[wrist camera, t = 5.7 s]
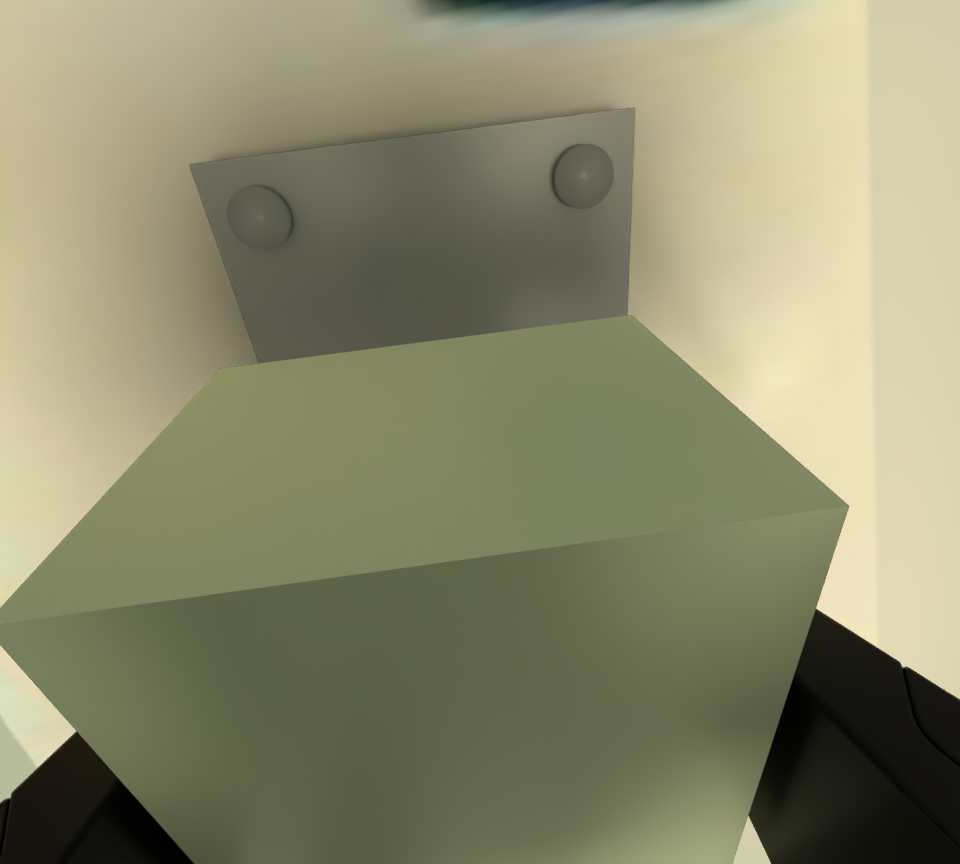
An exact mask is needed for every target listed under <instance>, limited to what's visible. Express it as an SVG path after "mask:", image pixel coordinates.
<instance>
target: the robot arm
mask: <svg viewBox="0 0 960 864" xmlns="http://www.w3.org/2000/svg"><path fill="white" fill-rule="evenodd" d="M749 818H750V820H751V822H752V824H753V826H754V828H755V830H756V832H757V834H758V836H759V839H760V841H761V843H762V845H763V847H764V849H765V851H766V853H767V855H768V858H769V860H770V862H771V864H960V699H958V698H957V697H955V696H953V695H952V694H950V693H948V692H946V691H945V690H943V689H942V688H940V687H939V686H937V685H936V684H934V683H932V682H931V681H929V680H928V679H926V678H925V677H923V676H921V675H920V674H918V673H917V672H915V671H913V670H912V669H910V668H908V667H903V668H902V665H901V663H900V662H899V661H897V660H896V659H894V658H893V657H891V656H890V655H888V654H886V653H885V652H883V651H882V650H880V649H879V648H877V647H876V646H874V645H872V644H871V643H869V642H868V641H866V640H865V639H863V638H861V637H860V636H858V635H857V634H855V633H854V632H852V631H850V630H849V629H847V628H846V627H844V626H843V625H841V624H839V623H838V622H836V621H835V620H833V619H832V618H830V617H828V616H827V615H825V614H824V613H822V612H821V611H819V610H817V609H815V612H814V616H813V619H812V622H811V625H810V628H809V631H808V634H807V637H806V640H805V643H804V646H803V649H802V652H801V655H800V658H799V661H798V665H797V668H796V671H795V674H794V677H793V680H792V683H791V686H790V689H789V692H788V695H787V698H786V701H785V704H784V707H783V710H782V714H781V717H780V720H779V723H778V726H777V729H776V732H775V735H774V738H773V741H772V744H771V747H770V750H769V753H768V756H767V759H766V763H765V766H764V769H763V772H762V775H761V778H760V781H759V784H758V787H757V790H756V793H755V796H754V799H753V802H752V805H751V808H750V812H749ZM0 864H194V863H193V862H192V861H191V859H190V858H189V857H188V856H187V855H186V854H185V853H184V852H183V850H182V849H181V848H180V847H179V846H178V845H177V844H176V843H175V841H174V840H173V839H172V838H171V837H170V836H169V835H168V833H167V832H166V831H165V830H164V829H163V828H162V827H161V826H160V824H159V823H158V822H157V821H156V820H155V819H154V818H153V817H152V815H151V814H150V813H149V812H148V811H147V810H146V809H145V808H144V806H143V805H142V804H141V803H140V802H139V801H138V800H137V799H136V797H135V796H134V795H133V794H132V793H131V792H130V791H129V790H128V788H127V787H126V786H125V785H124V784H123V783H122V782H121V781H120V779H119V778H118V777H117V776H116V775H115V774H114V773H113V771H112V770H111V769H110V768H109V767H108V766H107V765H106V764H105V762H104V761H103V760H102V759H101V758H100V757H99V756H98V755H97V753H96V752H95V751H94V750H93V749H92V748H91V747H90V746H89V744H88V743H87V742H86V741H85V740H84V739H83V738H82V737H81V735H80V734H79V733H78V732H77V731H76V732H75V733H74V734H73V735H72V736H71V737H70V738H69V739H68V740H67V741H66V742H65V743H63V744H62V745H61V746H60V747H59V748H58V749H57V750H56V751H55V752H54V753H53V754H52V755H51V756H50V757H49V758H48V759H47V760H46V761H44V762H43V763H42V764H41V765H40V766H39V767H38V768H37V769H36V770H35V771H34V772H33V773H32V774H31V775H30V776H29V777H28V778H27V779H26V780H25V781H24V782H22V783H21V784H20V785H19V786H18V787H17V788H16V789H15V790H14V791H13V792H12V794H11V797H10V798H7V799H5V800H3V801H2V802H1V803H0Z"/></svg>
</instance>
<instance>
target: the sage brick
mask: <svg viewBox="0 0 960 864" xmlns="http://www.w3.org/2000/svg"><path fill="white" fill-rule="evenodd" d="M848 508H849V505H848V504H846V503H845V502H844V501H843V500H842V499H841V498H840V497H838V496H837V495H836V494H835V493H834V492H833V491H832V490H830V489H829V488H828V487H827V486H826V485H825V484H824V483H822V482H821V481H820V480H819V479H818V478H817V477H816V476H814V475H813V474H812V473H811V472H810V471H809V470H808V469H807V468H805V467H804V466H803V465H802V464H801V463H800V462H799V461H797V460H796V459H795V458H794V457H793V456H792V455H791V454H789V453H788V452H787V451H786V450H785V449H784V448H783V447H781V446H780V445H779V444H778V443H777V442H776V441H775V440H773V439H772V438H771V437H770V436H769V435H768V434H767V433H765V432H764V431H763V430H762V429H761V428H760V427H759V426H757V425H756V424H755V423H754V422H753V421H752V420H751V419H749V418H748V417H747V416H746V415H745V414H744V413H743V412H742V411H740V410H739V409H738V408H737V407H736V406H735V405H734V404H732V403H731V402H730V401H729V400H728V399H727V398H726V397H724V396H723V395H722V394H721V393H720V392H719V391H718V390H716V389H715V388H714V387H713V386H712V385H711V384H710V383H708V382H707V381H706V380H705V379H704V378H703V377H702V376H700V375H699V374H698V373H697V372H696V371H695V370H694V369H692V368H691V367H690V366H689V365H688V364H687V363H686V362H684V361H683V360H682V359H681V358H680V357H679V356H678V355H676V354H675V353H674V352H673V351H672V350H671V349H670V348H669V347H667V346H666V345H665V344H664V343H663V342H662V341H661V340H659V339H658V338H657V337H656V336H655V335H654V334H653V333H651V332H650V331H649V330H648V329H647V328H646V327H645V326H643V325H642V324H641V323H640V322H639V321H638V320H637V319H635V318H634V317H633V316H632V315H627V316H619V317H611V318H604V319H596V320H588V321H581V322H573V323H565V324H558V325H550V326H542V327H535V328H527V329H519V330H512V331H504V332H496V333H489V334H481V335H473V336H466V337H458V338H450V339H443V340H435V341H427V342H420V343H412V344H404V345H397V346H389V347H381V348H374V349H366V350H358V351H351V352H343V353H336V354H328V355H320V356H313V357H305V358H297V359H290V360H282V361H274V362H267V363H259V364H251V365H244V366H236V367H228V368H221V369H219V371H218V372H217V373H216V374H215V375H214V376H213V377H212V378H211V379H210V380H209V381H208V382H207V384H206V385H205V386H204V387H203V388H202V389H201V390H200V391H199V392H198V393H197V394H196V396H195V397H194V398H193V399H192V400H191V401H190V402H189V403H188V404H187V405H186V406H185V408H184V409H183V410H182V411H181V412H180V413H179V414H178V415H177V416H176V417H175V418H174V419H173V421H172V422H171V423H170V424H169V425H168V426H167V427H166V428H165V429H164V430H163V431H162V433H161V434H160V435H159V436H158V437H157V438H156V439H155V440H154V441H153V442H152V443H151V445H150V446H149V447H148V448H147V449H146V450H145V451H144V452H143V453H142V454H141V455H140V456H139V458H138V459H137V460H136V461H135V462H134V463H133V464H132V465H131V466H130V467H129V468H128V470H127V471H126V472H125V473H124V474H123V475H122V476H121V477H120V478H119V479H118V480H117V482H116V483H115V484H114V485H113V486H112V487H111V488H110V489H109V490H108V491H107V492H106V493H105V495H104V496H103V497H102V498H101V499H100V500H99V501H98V502H97V503H96V504H95V505H94V507H93V508H92V509H91V510H90V511H89V512H88V513H87V514H86V515H85V516H84V517H83V519H82V520H81V521H80V522H79V523H78V524H77V525H76V526H75V527H74V528H73V529H72V530H71V532H70V533H69V534H68V535H67V536H66V537H65V538H64V539H63V540H62V541H61V542H60V544H59V545H58V546H57V547H56V548H55V549H54V550H53V551H52V552H51V553H50V554H49V556H48V557H47V558H46V559H45V560H44V561H43V562H42V563H41V564H40V565H39V566H38V567H37V569H36V570H35V571H34V572H33V573H32V574H31V575H30V576H29V577H28V578H27V579H26V581H25V582H24V583H23V584H22V585H21V586H20V587H19V588H18V589H17V590H16V591H15V593H14V594H13V595H12V596H11V597H10V598H9V599H8V600H7V601H6V602H5V603H4V604H3V606H2V607H1V608H0V645H1V646H2V648H3V649H4V650H5V651H6V652H7V653H8V654H9V655H10V657H11V658H12V659H13V660H14V661H15V662H16V663H17V664H18V666H19V667H20V668H21V669H22V670H23V671H24V672H25V673H26V675H27V676H28V677H29V678H30V679H31V680H32V681H33V682H34V684H35V685H36V686H37V687H38V688H39V689H40V690H41V691H42V693H43V694H44V695H45V696H46V697H47V698H48V699H49V700H50V702H51V703H52V704H53V705H54V706H55V707H56V708H57V710H58V711H59V712H60V713H61V714H62V715H63V716H64V717H65V719H66V720H67V721H68V722H69V723H70V724H71V725H72V726H73V728H74V729H75V730H76V731H77V732H78V733H79V734H80V735H81V737H82V738H83V739H84V740H85V741H86V742H87V743H88V744H89V746H90V747H91V748H92V749H93V750H94V751H95V752H96V753H97V755H98V756H99V757H100V758H101V759H102V760H103V761H104V762H105V764H106V765H107V766H108V767H109V768H110V769H111V770H112V771H113V773H114V774H115V775H116V776H117V777H118V778H119V779H120V781H121V782H122V783H123V784H124V785H125V786H126V787H127V788H128V790H129V791H130V792H131V793H132V794H133V795H134V796H135V797H136V799H137V800H138V801H139V802H140V803H141V804H142V805H143V806H144V808H145V809H146V810H147V811H148V812H149V813H150V814H151V815H152V817H153V818H154V819H155V820H156V821H157V822H158V823H159V824H160V826H161V827H162V828H163V829H164V830H165V831H166V832H167V833H168V835H169V836H170V837H171V838H172V839H173V840H174V841H175V843H176V844H177V845H178V846H179V847H180V848H181V849H182V850H183V852H184V853H185V854H186V855H187V856H188V857H189V858H190V859H191V861H192V862H193V863H194V864H733V860H734V857H735V854H736V851H737V848H738V845H739V842H740V839H741V836H742V833H743V830H744V826H745V824H746V821H747V818H748V815H749V812H750V808H751V805H752V802H753V799H754V796H755V793H756V790H757V787H758V784H759V781H760V778H761V775H762V772H763V769H764V766H765V763H766V759H767V756H768V753H769V750H770V747H771V744H772V741H773V738H774V735H775V732H776V729H777V726H778V723H779V720H780V717H781V714H782V710H783V707H784V704H785V701H786V698H787V695H788V692H789V689H790V686H791V683H792V680H793V677H794V674H795V671H796V668H797V665H798V661H799V658H800V655H801V652H802V649H803V646H804V643H805V640H806V637H807V634H808V631H809V628H810V625H811V622H812V619H813V616H814V612H815V609H816V606H817V603H818V600H819V597H820V594H821V591H822V588H823V585H824V582H825V579H826V576H827V573H828V570H829V567H830V563H831V560H832V557H833V554H834V551H835V548H836V545H837V542H838V539H839V536H840V533H841V530H842V527H843V524H844V521H845V518H846V514H847V511H848Z"/></svg>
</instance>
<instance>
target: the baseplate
mask: <svg viewBox="0 0 960 864" xmlns="http://www.w3.org/2000/svg"><path fill="white" fill-rule="evenodd" d="M634 123H635V107H634V108H626V109H618V110H610V111H603V112H595V113H587V114H579V115H571V116H563V117H555V118H548V119H540V120H532V121H524V122H516V123H508V124H500V125H493V126H485V127H477V128H469V129H461V130H453V131H445V132H438V133H430V134H422V135H414V136H406V137H398V138H390V139H383V140H375V141H367V142H359V143H351V144H343V145H335V146H328V147H320V148H312V149H304V150H296V151H288V152H280V153H273V154H265V155H257V156H249V157H241V158H233V159H225V160H218V161H210V162H202V163H194V164H189V166H190V169H191V172H192V175H193V178H194V181H195V183H196V186H197V189H198V192H199V195H200V198H201V200H202V203H203V206H204V209H205V212H206V215H207V217H208V220H209V223H210V226H211V229H212V231H213V234H214V237H215V240H216V243H217V246H218V248H219V251H220V254H221V257H222V260H223V263H224V265H225V268H226V271H227V274H228V277H229V280H230V282H231V285H232V288H233V291H234V294H235V297H236V299H237V302H238V305H239V308H240V311H241V313H242V316H243V319H244V322H245V325H246V328H247V330H248V333H249V336H250V339H251V342H252V345H253V347H254V350H255V353H256V356H257V359H258V362H259V363H267V362H274V361H282V360H290V359H297V358H305V357H313V356H320V355H328V354H336V353H343V352H351V351H358V350H366V349H374V348H381V347H389V346H397V345H404V344H412V343H420V342H427V341H435V340H443V339H450V338H458V337H466V336H473V335H481V334H489V333H496V332H504V331H512V330H519V329H527V328H535V327H542V326H550V325H558V324H565V323H573V322H581V321H588V320H596V319H604V318H611V317H619V316H627V311H628V284H629V257H630V230H631V203H632V176H633V149H634Z"/></svg>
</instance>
